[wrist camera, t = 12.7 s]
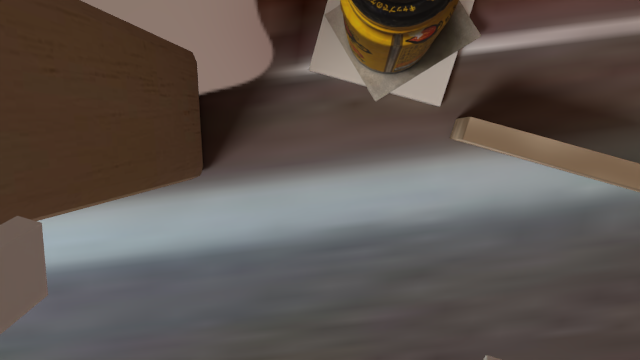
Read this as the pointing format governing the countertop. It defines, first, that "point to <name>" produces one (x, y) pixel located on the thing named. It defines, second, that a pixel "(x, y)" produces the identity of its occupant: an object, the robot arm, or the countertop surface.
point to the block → (90, 109)
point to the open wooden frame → (548, 152)
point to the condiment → (399, 37)
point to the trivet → (338, 65)
